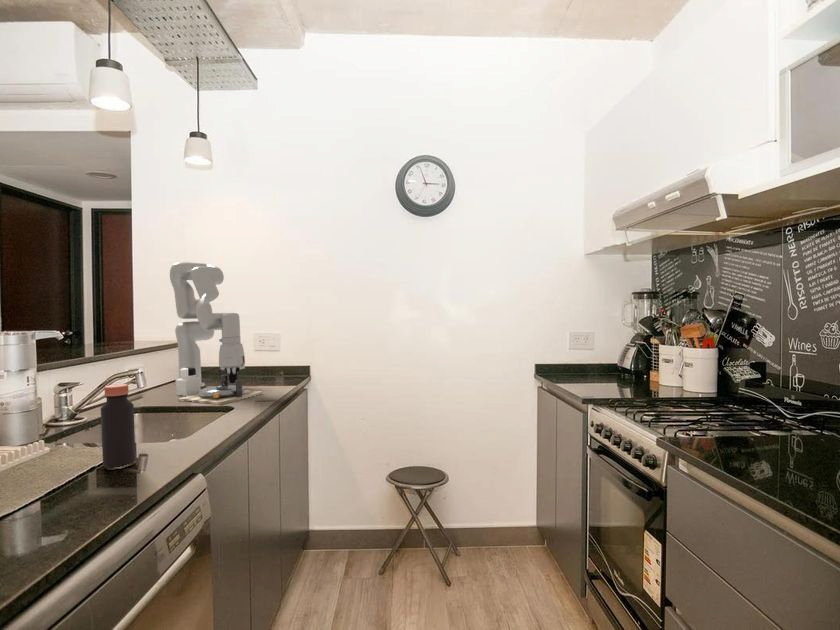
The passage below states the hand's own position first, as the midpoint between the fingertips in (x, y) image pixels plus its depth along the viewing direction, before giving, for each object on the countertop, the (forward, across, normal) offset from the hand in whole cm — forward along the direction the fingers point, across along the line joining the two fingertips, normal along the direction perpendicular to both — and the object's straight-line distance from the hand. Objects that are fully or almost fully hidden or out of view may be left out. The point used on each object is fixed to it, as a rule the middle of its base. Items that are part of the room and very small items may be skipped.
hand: (233, 382), depth 207 cm
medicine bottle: (+5, -20, -1) cm, 21 cm away
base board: (+5, -2, -6) cm, 9 cm away
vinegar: (+7, +14, -90) cm, 92 cm away
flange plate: (+3, -2, -8) cm, 9 cm away
